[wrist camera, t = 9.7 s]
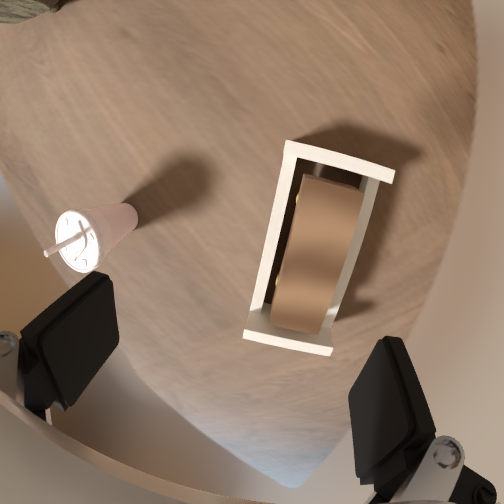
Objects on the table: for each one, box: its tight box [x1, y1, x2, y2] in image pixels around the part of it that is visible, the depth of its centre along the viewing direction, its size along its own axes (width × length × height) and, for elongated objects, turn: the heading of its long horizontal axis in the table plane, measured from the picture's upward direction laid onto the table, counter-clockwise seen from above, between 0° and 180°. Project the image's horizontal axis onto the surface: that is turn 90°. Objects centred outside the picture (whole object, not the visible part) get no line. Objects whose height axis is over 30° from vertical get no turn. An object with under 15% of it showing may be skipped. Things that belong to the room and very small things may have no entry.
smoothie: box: [44, 203, 138, 273], centre depth 26 cm, size 6×6×14 cm
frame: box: [243, 140, 395, 356], centre depth 27 cm, size 19×9×6 cm, turn 169°
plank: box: [268, 173, 365, 335], centre depth 26 cm, size 14×5×4 cm, turn 169°
